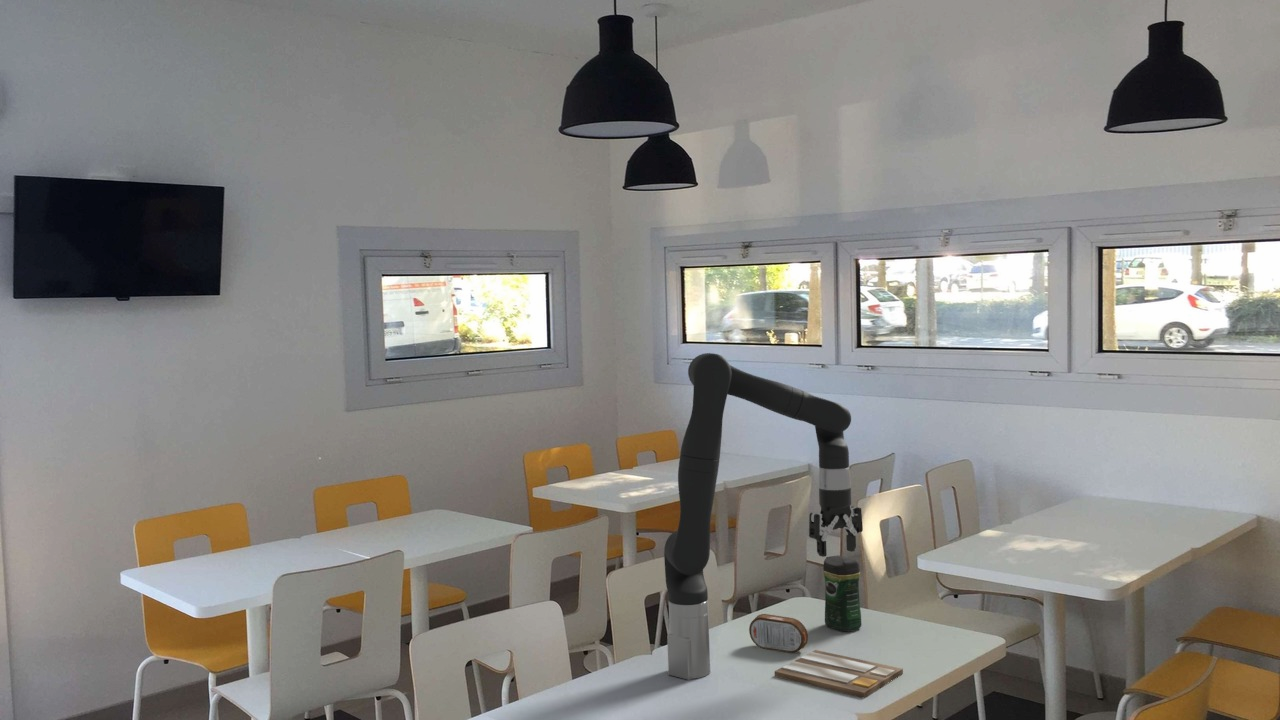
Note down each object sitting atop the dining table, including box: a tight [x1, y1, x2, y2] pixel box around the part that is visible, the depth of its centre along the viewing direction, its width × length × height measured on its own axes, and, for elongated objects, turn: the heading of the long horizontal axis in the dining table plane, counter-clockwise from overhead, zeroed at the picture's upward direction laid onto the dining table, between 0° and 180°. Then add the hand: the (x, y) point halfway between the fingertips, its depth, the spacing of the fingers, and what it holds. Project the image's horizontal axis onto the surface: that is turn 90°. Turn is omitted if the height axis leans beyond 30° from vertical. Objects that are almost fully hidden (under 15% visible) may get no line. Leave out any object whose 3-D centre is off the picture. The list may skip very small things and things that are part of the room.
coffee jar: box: [822, 554, 862, 632], centre depth 270 cm, size 10×8×19 cm
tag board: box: [774, 649, 904, 699], centre depth 235 cm, size 18×23×2 cm
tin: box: [748, 613, 809, 654], centre depth 254 cm, size 15×3×8 cm, turn 58°
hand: (836, 553), depth 244 cm, fingers open, 8 cm apart
